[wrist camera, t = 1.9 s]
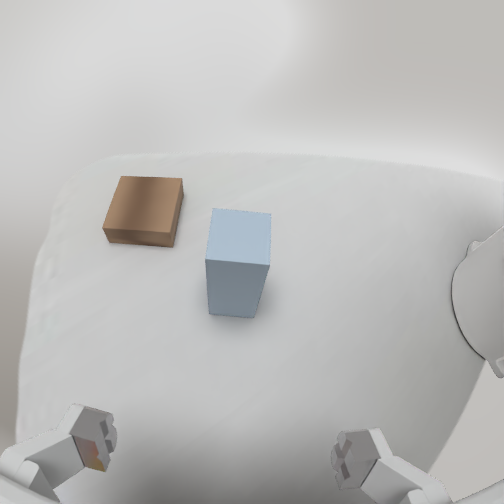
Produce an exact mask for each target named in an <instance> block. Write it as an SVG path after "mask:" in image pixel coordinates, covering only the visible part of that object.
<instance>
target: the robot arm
mask: <svg viewBox="0 0 504 504" xmlns="http://www.w3.org/2000/svg"><path fill="white" fill-rule="evenodd" d="M452 300H453V306H454V311H455V315H456V318H457V321H458V323H459V326H460V328H461V330H462V332H463V334H464V336H465V338H466V339H467V341H468V342H469V344H470V345H471V346H472V347H473V349H474V350H475V351H476V352H477V353H479V354H480V355H481V356H482V357H484V358H485V359H486V360H487V361H488V362H489V364H490V366H491V367H492V369H493V371H494V373H495V374H496V376H497V377H498V378H503V377H504V226H502V227H501V228H500V229H499V230H497V231H496V232H495V233H494V234H493V235H491V236H490V237H489V238H488V239H486V240H485V241H484V242H483V243H481V242H479V241H474V242H472V243H471V244H470V245H469V247H468V251H467V256H466V258H465V259H464V260H463V261H462V262H461V263H460V264H459V265H458V267H457V269H456V271H455V273H454V277H453V282H452ZM113 421H114V418H113V414H111V413H109V412H105V411H101V410H98V409H94V408H91V407H88V406H84V405H80V404H77V403H74V404H72V405H71V407H70V408H69V410H68V411H67V413H66V414H65V416H64V417H63V419H62V421H61V422H60V424H59V425H58V427H57V429H56V430H55V429H51V430H49V431H46V432H44V433H42V434H40V435H37V436H35V437H33V438H30V439H28V440H25V441H23V442H21V443H18V444H16V445H14V446H11V447H9V448H6V450H5V451H4V453H3V454H2V455H1V457H0V504H62V503H61V502H60V500H59V498H58V497H57V495H56V494H55V492H54V491H53V489H54V488H56V487H57V486H59V485H60V484H62V483H63V482H65V481H66V480H67V479H69V478H70V477H72V476H73V475H75V474H76V473H78V472H79V471H80V470H82V469H83V468H84V466H85V467H88V468H92V469H95V470H99V471H103V472H106V470H107V467H108V465H109V462H110V456H109V454H110V453H111V452H113V451H114V449H115V447H116V442H117V431H116V428H115V427H114V426H113V425H112V424H113ZM337 440H338V443H337V444H336V445H334V447H333V449H332V453H331V463H332V467H333V469H335V470H336V471H337V472H338V473H337V475H336V481H337V484H338V487H339V490H342V489H351V488H359V487H361V488H360V489H361V490H363V491H364V492H365V493H366V494H367V495H368V496H369V497H370V498H372V499H373V500H374V501H375V502H376V503H377V504H504V479H503V480H501V481H499V482H497V483H495V484H493V485H492V486H489V487H488V488H485V489H483V490H481V491H479V492H477V493H475V494H472V495H470V496H468V497H466V498H463V499H461V500H459V501H456V502H454V503H453V502H452V500H451V498H450V497H449V495H448V493H447V491H446V489H445V488H444V486H443V484H442V482H441V481H439V480H438V479H436V478H434V477H432V476H431V475H429V474H427V473H425V472H424V471H422V470H420V469H418V468H417V467H415V466H413V465H412V464H410V463H408V462H407V461H405V460H403V459H402V458H400V457H398V456H394V455H393V453H392V451H391V449H390V447H389V445H388V443H387V441H386V439H385V437H384V436H383V434H382V432H381V430H380V429H379V428H372V429H362V430H352V431H341V432H340V433H339V435H338V437H337Z"/></svg>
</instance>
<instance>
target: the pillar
mask: <svg viewBox="0 0 504 504" xmlns="http://www.w3.org/2000/svg"><path fill="white" fill-rule="evenodd" d="M270 244H271V214H268V213H258V212H248V211H238V210H227V209H216V208H213V211H212V217H211V224H210V230H209V237H208V243H207V250H206V257H205V263H206V278H207V292H208V305H209V314H214V315H225V316H236V317H247V318H254V315H255V312H256V309H257V305H258V302H259V299H260V296H261V293H262V289H263V286H264V283H265V280H266V276H267V273H268V270H269V267H270Z"/></svg>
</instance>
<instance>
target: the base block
mask: <svg viewBox="0 0 504 504" xmlns="http://www.w3.org/2000/svg"><path fill="white" fill-rule="evenodd" d="M183 195H184V194H183V184H182V178H162V177H134V176H121V178H120V180H119V183H118V186H117V188H116V191H115V193H114V196H113V199H112V202H111V204H110V207H109V210H108V213H107V216H106V218H105V221H104V224H103V227H102V228H103V230H104V232H105V234H106V237H107V239H108V241H109V243H122V244H135V245H148V246H161V247H173V244H174V239H175V234H176V229H177V224H178V219H179V214H180V209H181V205H182V200H183Z"/></svg>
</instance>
